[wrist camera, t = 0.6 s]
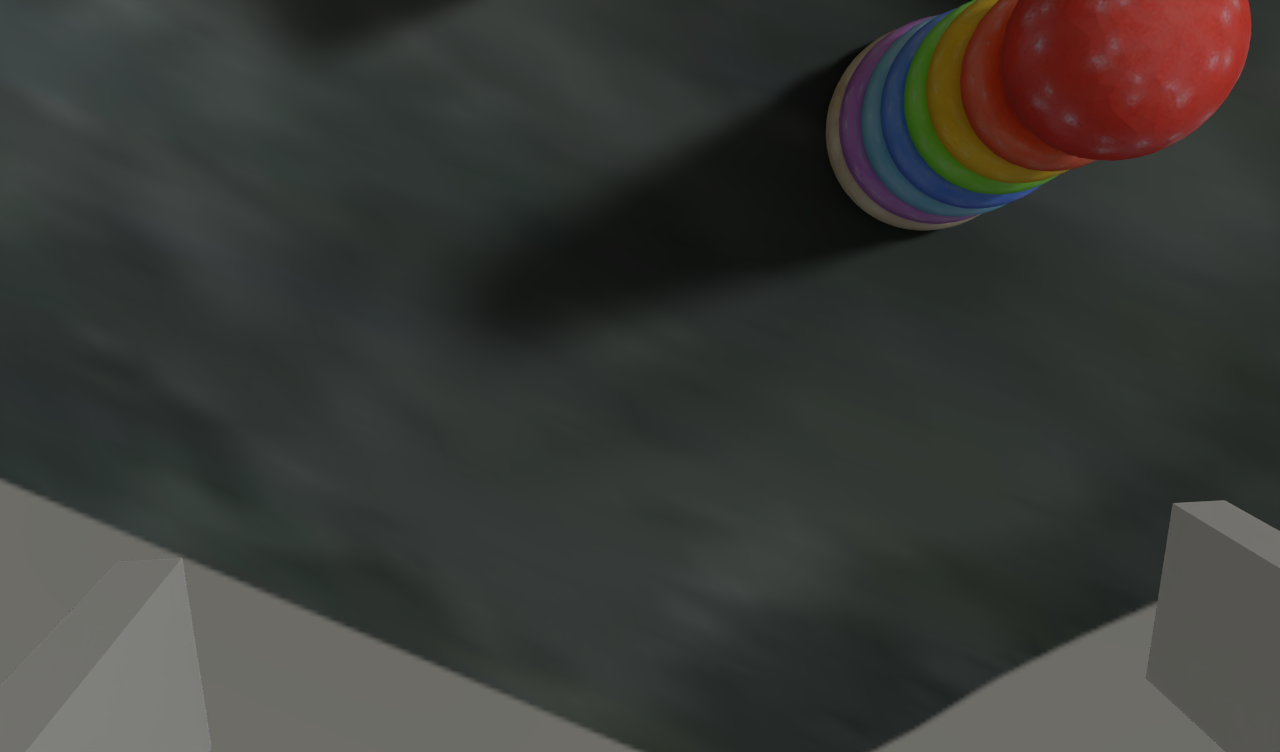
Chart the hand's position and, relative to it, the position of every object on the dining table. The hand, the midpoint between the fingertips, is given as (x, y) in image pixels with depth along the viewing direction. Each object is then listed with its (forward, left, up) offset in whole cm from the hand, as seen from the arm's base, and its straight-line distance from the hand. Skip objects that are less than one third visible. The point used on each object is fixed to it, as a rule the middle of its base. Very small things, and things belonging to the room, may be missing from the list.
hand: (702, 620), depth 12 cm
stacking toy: (-10, +8, -28) cm, 30 cm away
